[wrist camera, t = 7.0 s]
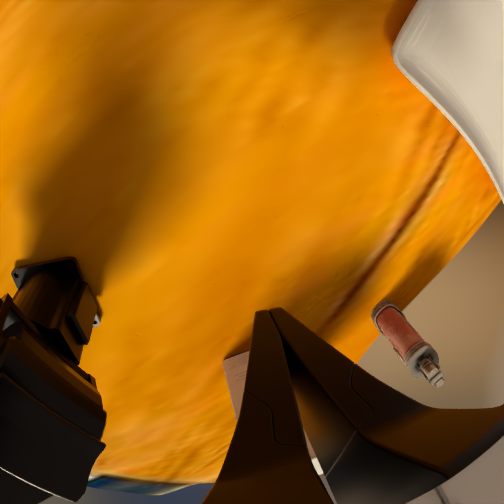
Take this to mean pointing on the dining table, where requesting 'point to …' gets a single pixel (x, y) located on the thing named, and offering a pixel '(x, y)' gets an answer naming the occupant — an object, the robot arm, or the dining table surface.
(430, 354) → the lighter
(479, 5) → the square plate
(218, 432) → the dining table surface
